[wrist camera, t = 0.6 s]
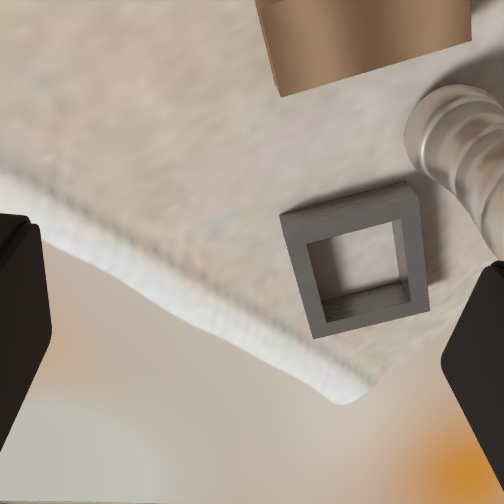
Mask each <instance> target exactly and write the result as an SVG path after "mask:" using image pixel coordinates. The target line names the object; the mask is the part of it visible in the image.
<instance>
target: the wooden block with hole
mask: <svg viewBox="0 0 504 504" xmlns="http://www.w3.org/2000/svg"><path fill="white" fill-rule="evenodd" d="M255 3H256V7H257V11H258V16H259V20H260V24H261V28H262V32H263V36H264V40H265V44H266V48H267V52H268V56H269V60H270V64H271V68H272V73H273V77H274V81H275V84H276V87H277V89H278V91H279V94H280V96H281V97H285V96H288V95H291V94H295V93H298V92H301V91H305V90H308V89H311V88H315V87H318V86H321V85H325V84H328V83H332V82H335V81H338V80H342V79H345V78H348V77H352V76H355V75H358V74H362V73H365V72H368V71H372V70H375V69H378V68H382V67H385V66H388V65H392V64H395V63H398V62H402V61H405V60H409V59H412V58H415V57H419V56H422V55H425V54H429V53H432V52H435V51H439V50H442V49H445V48H449V47H452V46H455V45H459V44H462V43H465V42H469V41H472V37H471V0H255Z"/></svg>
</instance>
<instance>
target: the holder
mask: <svg viewBox="0 0 504 504" xmlns="http://www.w3.org/2000/svg"><path fill="white" fill-rule="evenodd" d="M279 216H280V221H281V226H282V230H283V234H284V238H285V241H286V245H287V249H288V252H289V256H290V259H291V263H292V266H293V270H294V273H295V277H296V280H297V284H298V287H299V291H300V294H301V298H302V301H303V305H304V308H305V312H306V315H307V319H308V322H309V326H310V330H311V333H312V337H313V339H317V338H321V337H325V336H329V335H333V334H337V333H341V332H345V331H350V330H354V329H358V328H362V327H366V326H370V325H374V324H378V323H382V322H387V321H391V320H395V319H399V318H403V317H407V316H411V315H415V314H419V313H424V312H428V311H430V306H429V296H428V285H427V275H426V265H425V255H424V245H423V234H422V224H421V214H420V204H419V196H418V195H417V194H416V193H415V191H414V190H413V189H412V188H411V187H410V185H409V184H408V183H407V182H406V181H403V182H399V183H395V184H392V185H388V186H384V187H381V188H377V189H373V190H370V191H366V192H362V193H359V194H355V195H351V196H348V197H344V198H340V199H337V200H333V201H329V202H326V203H322V204H318V205H315V206H311V207H307V208H304V209H300V210H296V211H293V212H289V213H285V214H282V215H279ZM391 221H392V225H393V232H394V240H395V247H396V254H397V262H398V269H399V276H400V282H398V283H394V284H390V285H386V286H382V287H378V288H374V289H370V290H366V291H362V292H358V293H355V294H351V295H347V296H343V297H339V298H335V299H331V300H327V301H323V302H321V300H320V296H319V292H318V288H317V284H316V281H315V277H314V273H313V269H312V265H311V261H310V257H309V253H308V249H307V245H306V244H308V243H312V242H316V241H319V240H323V239H327V238H331V237H334V236H338V235H342V234H346V233H350V232H353V231H357V230H361V229H365V228H368V227H372V226H376V225H380V224H384V223H387V222H391Z"/></svg>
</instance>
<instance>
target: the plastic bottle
mask: <svg viewBox="0 0 504 504" xmlns="http://www.w3.org/2000/svg"><path fill="white" fill-rule="evenodd" d="M404 144H405V148H406V151H407V154H408V156H409V159H410V161H411V163H412V164H413V166H414V167H415V168H416V169H417V170H418V171H419V172H421V173H422V174H424V175H425V176H427V177H428V178H430V179H431V180H433V181H436V182H438V183H440V184H441V185H442V186H443V187H445V188H446V189H447V190H449V191H450V192H451V193H452V194H454V195H455V197H456V198H457V199H458V200H459V201H460V203H461V204H462V205H463V207H464V208H465V209H466V210H467V212H468V213H469V214H470V216H471V218H472V219H473V221H474V223H475V225H476V226H477V228H478V230H479V232H480V233H481V235H482V237H483V239H484V241H485V242H486V244H487V246H488V247H489V248H490V250H491V251H492V253H493V254H494V255H495V256H496V257H497V258H498V260H499V261H504V109H503V107H502V106H501V105H500V103H499V102H498V101H497V100H496V99H495V98H494V97H493V96H492V95H491V94H489V93H488V92H487V91H485V90H484V89H481V88H479V87H475V86H469V85H462V84H453V85H447V86H444V87H441V88H439V89H436V90H434V91H432V92H431V93H430V94H428V95H427V96H425V97H424V98H423V99H422V100H421V101H420V102H419V103H418V104H417V105H416V107H415V108H414V109H413V111H412V112H411V114H410V116H409V118H408V120H407V123H406V126H405V131H404Z"/></svg>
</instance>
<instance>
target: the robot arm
mask: <svg viewBox="0 0 504 504" xmlns="http://www.w3.org/2000/svg"><path fill="white" fill-rule="evenodd" d="M51 334H52V325H51V316H50V308H49V300H48V292H47V284H46V275H45V267H44V259H43V251H42V242H41V234H40V228H39V226H38V225H37V224H31V223H30V220H29V218H28V217H27V216H24V215H13V214H3V213H0V451H1V449H2V447H3V445H4V443H5V440H6V438H7V436H8V434H9V431H10V429H11V427H12V425H13V423H14V421H15V418H16V416H17V414H18V412H19V410H20V407H21V405H22V403H23V401H24V399H25V396H26V394H27V392H28V390H29V388H30V385H31V383H32V381H33V379H34V376H35V374H36V372H37V370H38V368H39V366H40V363H41V361H42V359H43V357H44V355H45V352H46V350H47V348H48V346H49V343H50V340H51ZM441 368H442V371H443V373H444V375H445V377H446V379H447V381H448V383H449V385H450V387H451V389H452V391H453V393H454V394H455V397H456V398H457V401H458V402H459V404H460V406H461V408H462V410H463V412H464V414H465V416H466V418H467V420H468V422H469V424H470V426H471V428H472V430H473V432H474V434H475V436H476V438H477V440H478V442H479V444H480V446H481V448H482V450H483V452H484V454H485V455H486V457H487V459H488V461H489V463H490V465H491V467H492V469H493V471H494V473H495V475H496V477H497V479H498V481H499V483H500V485H501V487H502V489H503V491H504V261H499V260H498V261H495V262H494V263H492V264H491V266H488V267H486V268H485V269H484V270H483V271H482V273H481V275H480V277H479V279H478V281H477V283H476V285H475V287H474V289H473V291H472V294H471V296H470V298H469V300H468V302H467V304H466V306H465V308H464V310H463V312H462V314H461V316H460V318H459V320H458V323H457V325H456V327H455V329H454V331H453V333H452V335H451V337H450V339H449V341H448V343H447V345H446V347H445V350H444V352H443V354H442V357H441ZM0 504H155V503H118V502H117V503H116V502H115V503H114V502H73V501H71V502H70V501H0Z"/></svg>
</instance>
